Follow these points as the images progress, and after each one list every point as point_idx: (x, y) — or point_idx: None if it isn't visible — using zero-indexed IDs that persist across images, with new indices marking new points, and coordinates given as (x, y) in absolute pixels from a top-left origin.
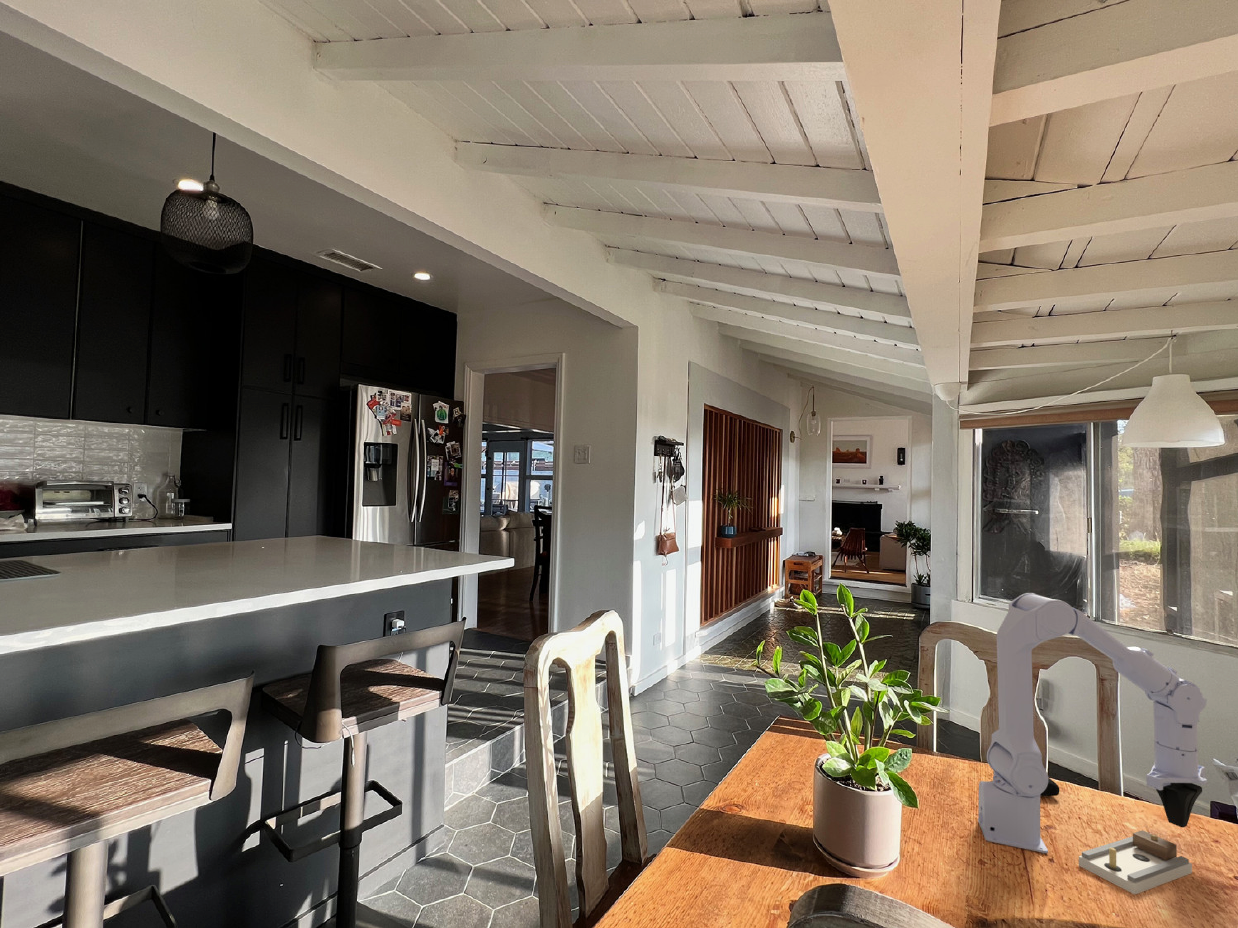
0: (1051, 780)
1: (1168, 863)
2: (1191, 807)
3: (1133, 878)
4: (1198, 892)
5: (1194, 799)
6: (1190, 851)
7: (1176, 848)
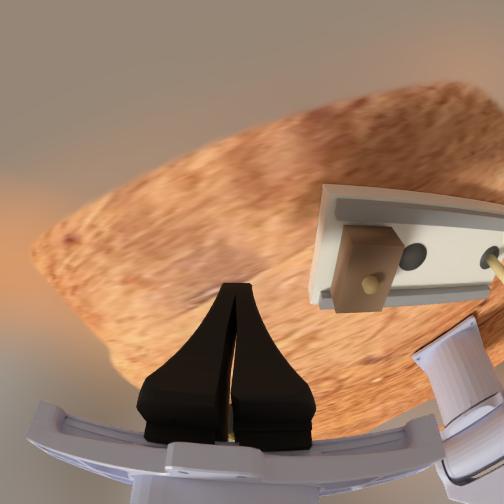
0: (232, 424)
1: (417, 216)
2: (206, 329)
3: None
4: (418, 140)
5: (196, 356)
6: (186, 236)
7: (351, 237)
